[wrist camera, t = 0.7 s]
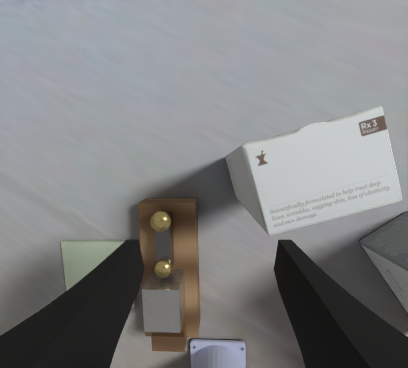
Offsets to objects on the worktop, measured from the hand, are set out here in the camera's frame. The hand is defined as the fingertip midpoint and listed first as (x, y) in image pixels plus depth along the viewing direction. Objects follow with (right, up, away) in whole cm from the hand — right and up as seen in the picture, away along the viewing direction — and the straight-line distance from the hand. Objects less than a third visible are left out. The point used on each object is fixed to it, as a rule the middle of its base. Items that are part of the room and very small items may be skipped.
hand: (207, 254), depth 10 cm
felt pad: (-15, -9, +19) cm, 26 cm away
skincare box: (+7, +6, +16) cm, 18 cm away
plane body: (-4, -7, +18) cm, 20 cm away
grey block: (-5, -10, +15) cm, 18 cm away
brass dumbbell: (-5, -3, +14) cm, 15 cm away
